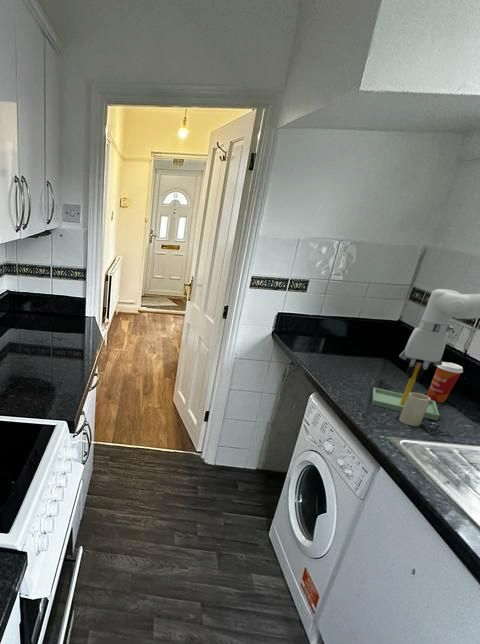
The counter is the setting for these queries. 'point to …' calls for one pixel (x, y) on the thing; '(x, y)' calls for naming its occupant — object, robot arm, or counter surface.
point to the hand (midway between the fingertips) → (413, 377)
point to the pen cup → (414, 409)
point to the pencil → (411, 382)
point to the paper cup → (444, 381)
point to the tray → (394, 399)
